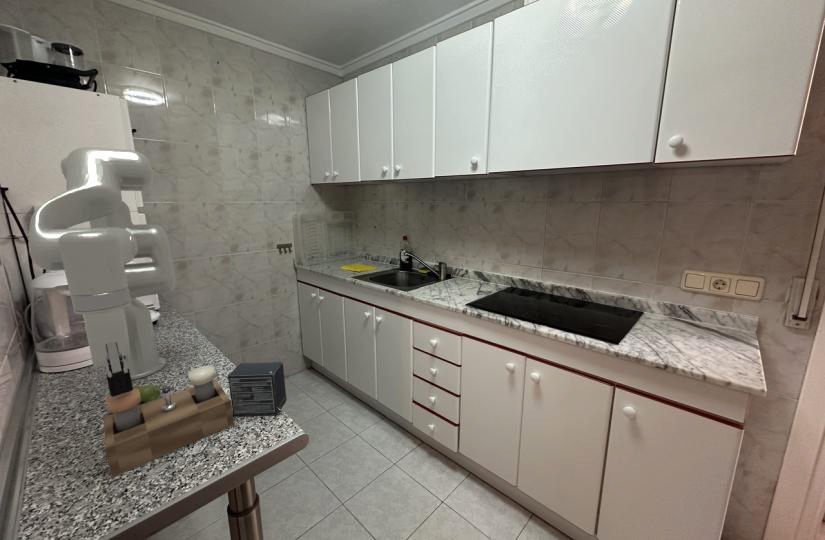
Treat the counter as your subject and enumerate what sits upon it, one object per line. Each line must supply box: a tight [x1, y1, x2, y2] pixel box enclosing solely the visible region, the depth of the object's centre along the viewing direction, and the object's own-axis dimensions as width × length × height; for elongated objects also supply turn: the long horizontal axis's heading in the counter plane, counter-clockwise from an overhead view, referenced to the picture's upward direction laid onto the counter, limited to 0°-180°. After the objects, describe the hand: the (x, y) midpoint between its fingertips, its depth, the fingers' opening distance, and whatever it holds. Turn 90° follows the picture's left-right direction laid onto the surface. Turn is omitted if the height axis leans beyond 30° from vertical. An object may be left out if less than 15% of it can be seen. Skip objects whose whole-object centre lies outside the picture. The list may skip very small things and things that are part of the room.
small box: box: [227, 361, 287, 418], centre depth 76 cm, size 11×6×10 cm, turn 92°
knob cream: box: [188, 365, 217, 404], centre depth 71 cm, size 5×5×8 cm
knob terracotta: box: [105, 389, 142, 433], centre depth 63 cm, size 5×5×8 cm
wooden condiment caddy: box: [103, 379, 235, 478], centre depth 68 cm, size 12×20×6 cm, turn 134°
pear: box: [105, 384, 161, 406], centre depth 78 cm, size 6×5×10 cm
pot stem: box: [161, 386, 177, 412], centre depth 67 cm, size 2×2×5 cm
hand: (122, 391), depth 62 cm, fingers closed
